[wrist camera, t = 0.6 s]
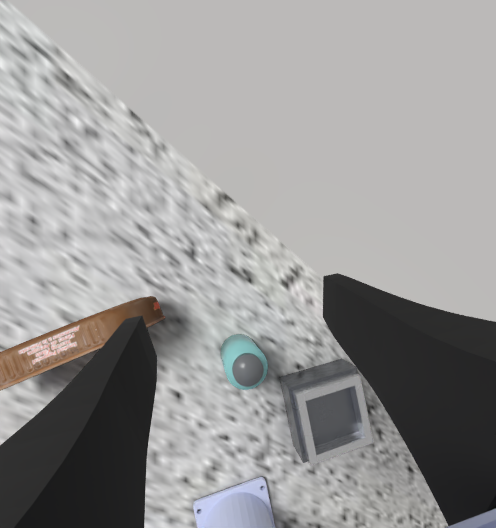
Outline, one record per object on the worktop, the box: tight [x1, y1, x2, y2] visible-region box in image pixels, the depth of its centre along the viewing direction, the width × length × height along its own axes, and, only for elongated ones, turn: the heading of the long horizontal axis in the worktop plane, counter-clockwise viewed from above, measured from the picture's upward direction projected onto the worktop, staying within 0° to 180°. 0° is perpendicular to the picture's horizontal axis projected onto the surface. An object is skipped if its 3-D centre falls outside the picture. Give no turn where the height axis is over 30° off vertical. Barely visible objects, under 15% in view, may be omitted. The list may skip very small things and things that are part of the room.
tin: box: [0, 296, 165, 391], centre depth 24 cm, size 15×3×8 cm, turn 112°
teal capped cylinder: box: [221, 334, 268, 390], centre depth 28 cm, size 4×4×6 cm
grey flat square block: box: [279, 359, 374, 465], centre depth 31 cm, size 8×8×4 cm
